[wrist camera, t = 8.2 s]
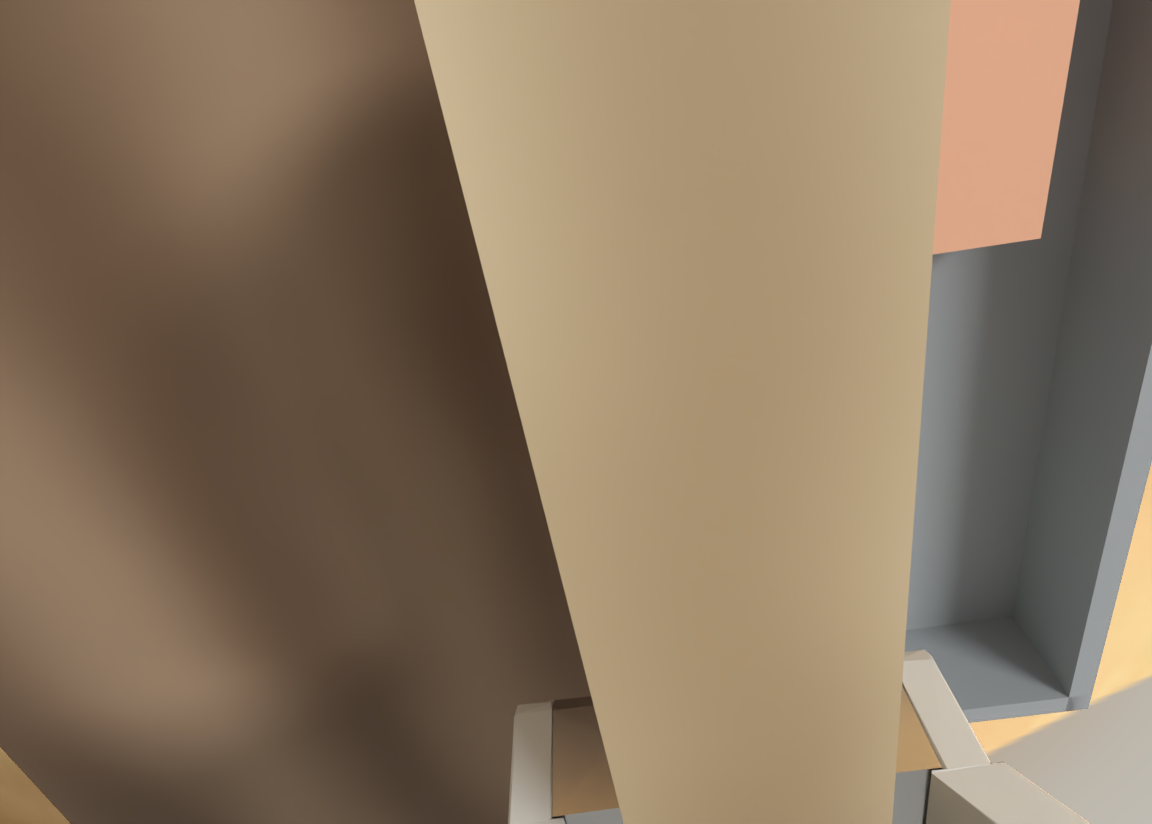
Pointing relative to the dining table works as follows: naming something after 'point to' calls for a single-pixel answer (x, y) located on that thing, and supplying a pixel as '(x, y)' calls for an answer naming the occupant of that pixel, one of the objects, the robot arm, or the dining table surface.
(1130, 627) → the dining table surface
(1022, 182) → the terracotta tile
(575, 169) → the bar
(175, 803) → the walnut platform
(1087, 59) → the box
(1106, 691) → the dining table surface
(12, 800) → the dining table surface
